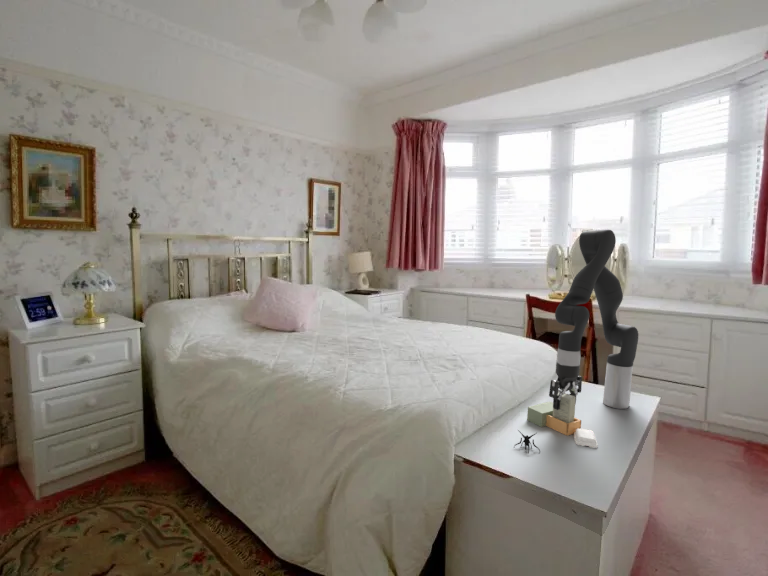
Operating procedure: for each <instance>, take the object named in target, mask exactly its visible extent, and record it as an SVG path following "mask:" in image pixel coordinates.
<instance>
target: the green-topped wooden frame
mask: <svg viewBox="0 0 768 576" xmlns="http://www.w3.org/2000/svg"><path fill="white" fill-rule="evenodd" d="M552 416H553V402H552V401H545V402H543V403H539V404H535V405H530V406H528V407H527V415H526V417H527V418H526V421H528V422H530V423H532V424H534V425H536V426H539V427H540V428H543V427H548V428H550V429H553V430H554V431H557V432H558V433H561V434H562V435H565V436H567V437H568V436H570V435H574V432H576V429H577V428H579V429H582V420H581V419H579V418H577V417H575V416H574V422H571V423H565V422H563V421H561V420H559V419H557V418H554V417H552Z"/></svg>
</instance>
